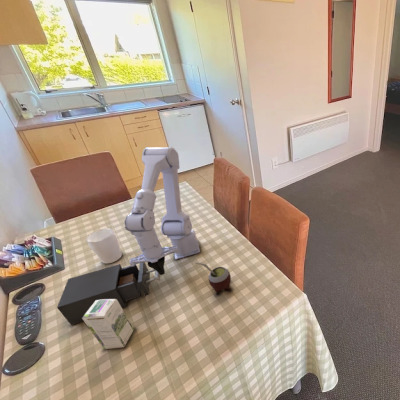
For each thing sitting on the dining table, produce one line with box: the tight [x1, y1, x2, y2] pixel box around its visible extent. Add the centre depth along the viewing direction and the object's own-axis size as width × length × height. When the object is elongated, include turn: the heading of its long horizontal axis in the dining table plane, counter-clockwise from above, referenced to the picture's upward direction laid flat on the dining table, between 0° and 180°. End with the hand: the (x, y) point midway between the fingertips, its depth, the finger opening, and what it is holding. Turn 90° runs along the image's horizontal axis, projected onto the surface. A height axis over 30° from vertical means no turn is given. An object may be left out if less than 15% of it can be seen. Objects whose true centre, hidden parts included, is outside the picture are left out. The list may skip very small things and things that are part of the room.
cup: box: [85, 227, 123, 264], centre depth 106 cm, size 9×9×12 cm
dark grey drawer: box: [117, 262, 161, 302], centre depth 92 cm, size 18×11×7 cm, turn 117°
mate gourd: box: [194, 262, 232, 296], centre depth 90 cm, size 8×8×15 cm
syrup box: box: [82, 299, 135, 350], centre depth 75 cm, size 6×6×14 cm
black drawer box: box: [56, 263, 127, 326], centre depth 88 cm, size 15×13×9 cm
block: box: [119, 274, 137, 287], centre depth 92 cm, size 4×4×4 cm
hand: (162, 272), depth 96 cm, fingers closed
